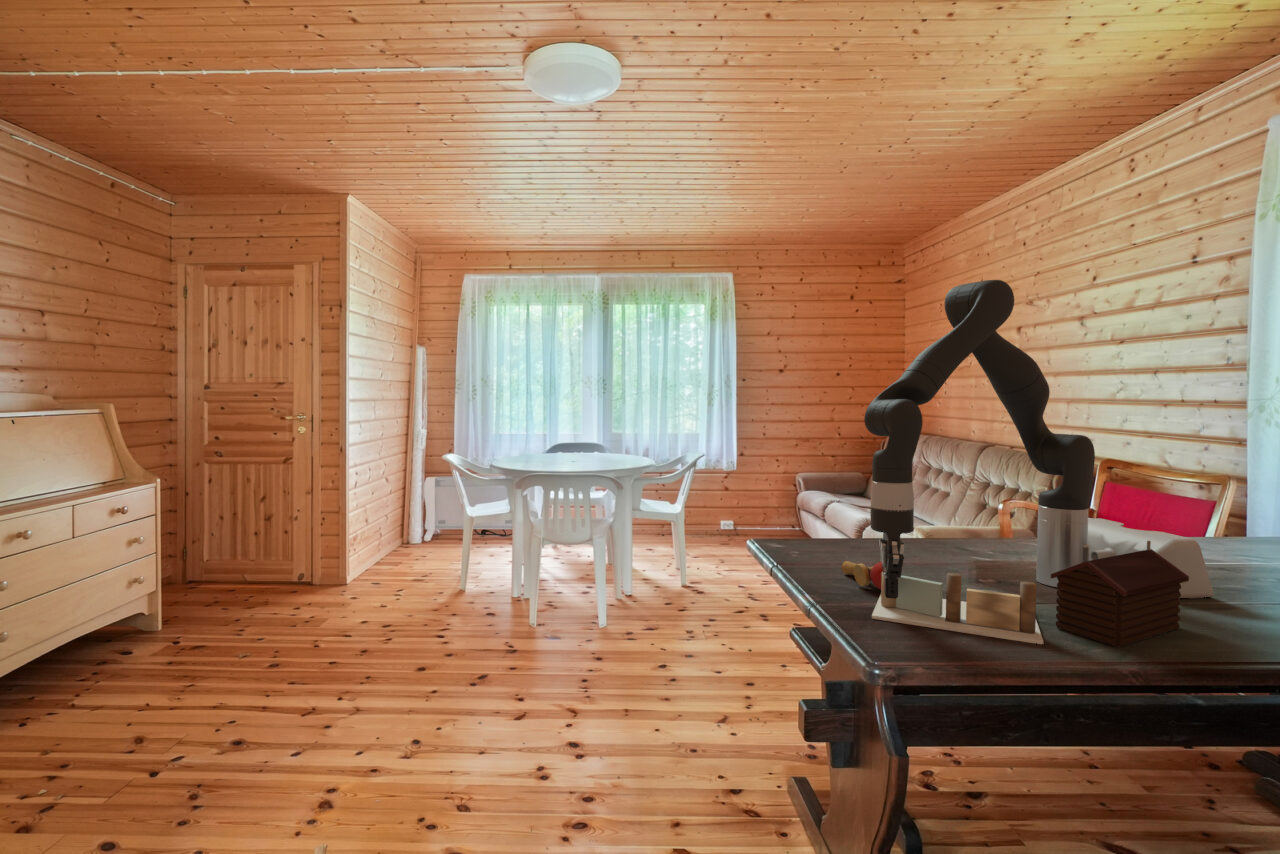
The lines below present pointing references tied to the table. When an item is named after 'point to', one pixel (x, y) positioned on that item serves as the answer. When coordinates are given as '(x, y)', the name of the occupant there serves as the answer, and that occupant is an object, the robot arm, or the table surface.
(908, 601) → the panel
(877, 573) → the kendama
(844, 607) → the table surface
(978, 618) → the fence fixed
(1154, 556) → the model building
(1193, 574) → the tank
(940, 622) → the board
